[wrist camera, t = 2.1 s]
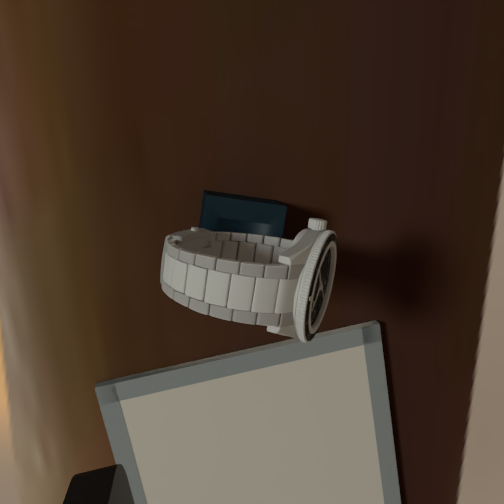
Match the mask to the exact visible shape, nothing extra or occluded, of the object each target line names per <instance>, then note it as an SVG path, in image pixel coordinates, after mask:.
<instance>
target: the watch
mask: <svg viewBox="0 0 504 504" xmlns="http://www.w3.org/2000/svg"><path fill="white" fill-rule="evenodd" d="M286 211H287V206H286V205H284V204H282V203H280V202H278V201H276V200H270V199H263V198H256V197H249V196H242V195H235V194H228V193H221V192H214V191H207V190H204V194H203V202H202V209H201V217H200V224H199V228H198V227H192V228H191V229H190V230H184V231H179V232H176V233H173V234H170V235H168V236H167V237H166V239H165V244H164V249H163V256H162V263H161V284H162V289H163V291H164V292H165V293H166V294H167V295H168V296H169V297H170V298H172V299H174V300H175V301H176V302H178V303H180V304H182V305H184V306H186V307H189V308H190V309H192V310H194V311H197V312H200V313H202V314H205V315H210V316H213V317H217V318H220V319H224V320H229V321H231V320H233V321H235V322H241V323H246V324H258V325H265V326H267V331H268V332H272V333H276V334H280V335H284V336H289V337H293V338H297V339H300V341H302V342H305V343H309V342H310V341H311V340H312V339H313V338H314V336H315V335H316V333H317V331H318V329H319V327H320V324H321V322H322V319H323V317H324V314H325V311H326V307H327V304H328V300H329V297H330V293H331V289H332V284H333V279H334V274H335V267H336V260H337V238H336V234H335V232H334V231H330V230H326V226H327V221H326V220H323V219H318V218H309V222H308V229H304V230H302V231H300V232H299V233H298V235H297V236H296V237H295V239H294V240H289V239H283V238H282V235H283V229H284V223H285V217H286ZM310 228H311V229H310ZM322 230H326V231H322ZM227 300H228V303H227ZM251 304H252V306H251ZM233 309H234V312H233ZM232 315H233V319H232ZM256 317H257V318H256Z"/></svg>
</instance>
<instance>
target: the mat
mask: <svg viewBox="0 0 504 504" xmlns="http://www.w3.org/2000/svg"><path fill="white" fill-rule="evenodd" d="M95 391H96V395H97V398H98V402H99V405H100V409H101V412H102V416H103V420H104V423H105V427H106V430H107V434H108V437H109V441H110V444H111V448H112V452H113V455H114V459H115V462H116V465H117V464H122V466H123V467H124V469H125V471H126V474H127V478H128V481H129V485H130V488H131V492H132V496H133V499H134V503H135V504H401V498H400V490H399V481H398V473H397V465H396V456H395V448H394V440H393V431H392V423H391V415H390V406H389V398H388V389H387V381H386V373H385V364H384V356H383V348H382V339H381V331H380V323H378V322H377V321H376V320H374V321H370V322H366V323H361V324H357V325H352V326H348V327H343V328H339V329H334V330H330V331H326V332H321V333H317V334H316V335H315V336H314V338H313V339H312V340H311V341H310V342H309V343H305V342H302V341H300V339H297V338H294V339H290V340H285V341H281V342H277V343H272V344H268V345H263V346H259V347H254V348H250V349H245V350H241V351H237V352H232V353H228V354H223V355H219V356H214V357H210V358H205V359H201V360H197V361H192V362H188V363H183V364H179V365H174V366H170V367H165V368H161V369H156V370H152V371H148V372H143V373H139V374H134V375H130V376H125V377H121V378H116V379H112V380H108V381H103V382H99V383H96V386H95Z"/></svg>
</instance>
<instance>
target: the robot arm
mask: <svg viewBox="0 0 504 504" xmlns="http://www.w3.org/2000/svg"><path fill="white" fill-rule="evenodd" d="M63 504H135V503H134V499H133V496H132V492H131V488H130V485H129V481H128V478H127V474H126V471H125V469H124V467H123V466H122V464H117V465H112V466H108V467H104V468H100V469H96V470H92V471H88V472H84V473H80V474H76V475H74V476H73V478H72V480H71V482H70V485H69V488H68V490H67V493H66V496H65V499H64V502H63Z"/></svg>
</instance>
